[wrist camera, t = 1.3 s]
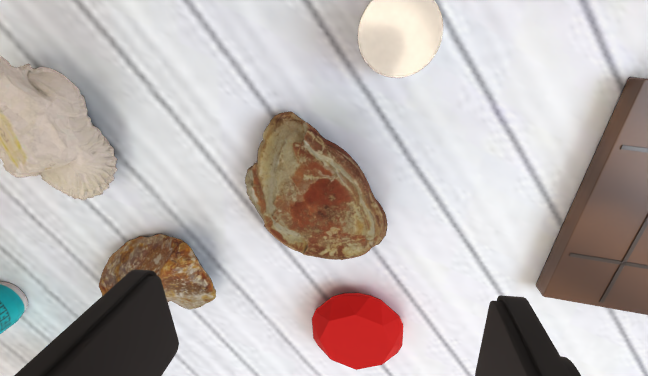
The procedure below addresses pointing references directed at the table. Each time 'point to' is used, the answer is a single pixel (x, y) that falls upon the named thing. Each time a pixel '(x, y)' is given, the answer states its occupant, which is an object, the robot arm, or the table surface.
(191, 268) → the decorative stone
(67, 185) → the fossil replica
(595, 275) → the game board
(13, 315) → the beverage can
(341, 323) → the gemstone
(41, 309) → the table surface
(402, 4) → the cream cylinder puck
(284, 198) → the stone
